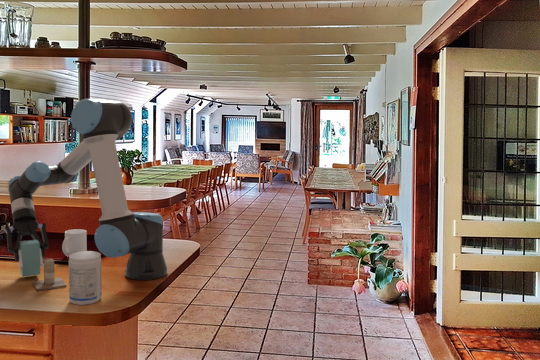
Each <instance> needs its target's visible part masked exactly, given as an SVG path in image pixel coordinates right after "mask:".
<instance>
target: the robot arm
mask: <svg viewBox="0 0 540 360" xmlns="http://www.w3.org/2000/svg"><path fill="white" fill-rule="evenodd" d="M70 116H71V117H70V120H71V121H70V122H71V125H72V128H73V129H74V130H75V132H77V133H79V134H81V138H82V141H80V143H79V144H78V145H76V147H74V149H73V150H71V151H70V152H69V153H68V154H67V155H66V156H65V157H64V158H63V159H62V160H61V161H59V162H58V163H57V164H56V165H54V164H53V165H48V164H47V163H45V162H41V161H40V160H39V161H38V160H37V161H36V160H35V161H33V162H32V163H30V165H28V166H27V167H26V168H25V170H24V172H22V174H21V175H16V176H14V177H12V178H10V179H9V181H8V193H9V199H10V201H9V202H10V207H11V214H12V221H13V224H12V225H11V226H8V225H6V226H5V228H4V232H5V235H6V240H7V253H8V254H13V255H14V261H15V262H18V265H19V271H20V270H23V262H22V255H21V250H20V241H22V237H23V236H30V237H31V238H32V240H38V242H39V243H40V269H41V268H44V259H45V256H46V253H45V250H49V248H50V247H49V246H50V242H49V238H48V234H47V230H46V227H47V223H45V222H43V223H39V222H38V221H37V217H36V211H35V205H34V199H33V195H34V193H35V192H36V191H38V189H39V188H40V187H45V186H52V185H62V184H65V185H66V184H70V183H73V182H75V181H77V179H78V177H79V172H80V171H81V170H83V168H85V167H86V166H87V165H88V164H89V163H90V162H91V163H92V168H93V174H94V179H95V185H96V190H97V194H98V199H99V205H100V211H101V215H100V217H99V219H98V223H99V224H98V225H99V227H97V228H96V229H95V233H94V242H95V245H96V248H97V250H98V251H99V253H100V254H103V255H104V256H105V257H108V258H112V259H113V258H114V259H115V258H120V257H124V256H126V255H129V258H128V260H127V264H126V267H125V277H126V278H127V279H131V280H137V281H151V280H156V279H161V278H163V277H165V276H167V275H168V266H167V263H166V259H165V256H164V254H163V250H164V249H163V248H164V245H163V244H164V242H163V241H164V219H163V216H162V214H159V213H154V212H147V211H146V212H143V211H142V212H141V211H140V212H139V211H131V210H130V209H129V208H128V207H129V206H128V202H127V197H126V192H125V187H124V182H123V176H122V171H121V165H120V161H119V154H118V150H117V146H116V141H119V140H120V139H121V138H122V137H123V136H124V135H126V134H127V133H128V131H129V130H130V129H131V126H132V125H133V116H132V112H131V109H130V108H129V107H128V106H127V105H126V104H125V103H123V102H122V101H118V100H108V99H101V98H83V99H81V100H79V101H78V102H77V103H76V104H75V105H74V108H72V111H71V115H70ZM37 229H39V230H40V234H41V237H42V238H41V239H42V241H43V242H42V241H41V239H40V236H39V235H38V233H37ZM13 231H15V232H16V233H17V234H18V235H17V237H16V241H15V245H14V247H13V238H12V237H13V236H12V233H13Z"/></svg>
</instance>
